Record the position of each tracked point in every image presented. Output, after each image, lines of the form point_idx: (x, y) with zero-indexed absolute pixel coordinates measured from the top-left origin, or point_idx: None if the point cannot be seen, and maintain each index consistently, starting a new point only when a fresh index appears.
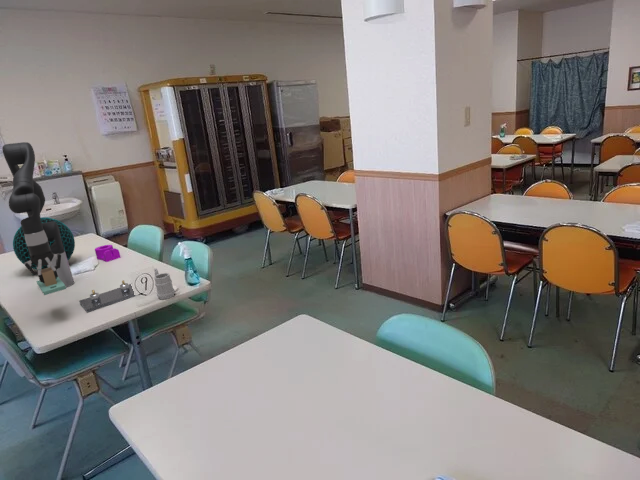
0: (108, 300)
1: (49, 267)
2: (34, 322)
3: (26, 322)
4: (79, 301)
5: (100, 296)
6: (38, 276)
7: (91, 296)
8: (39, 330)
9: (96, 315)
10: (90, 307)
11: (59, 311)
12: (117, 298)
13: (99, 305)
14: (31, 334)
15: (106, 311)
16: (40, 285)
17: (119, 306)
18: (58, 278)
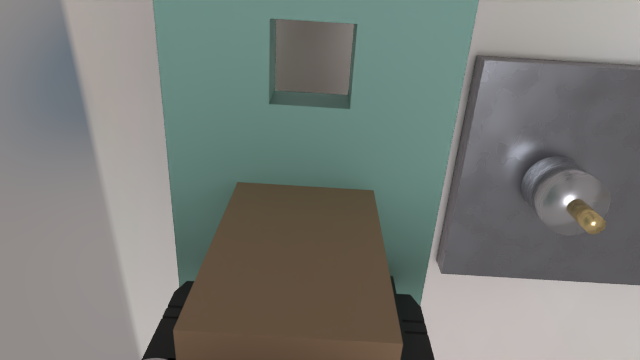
0: (591, 259)
1: (380, 353)
2: (155, 108)
3: (106, 51)
4: (482, 66)
5: (615, 132)
6: (150, 354)
7: (543, 221)
8: (174, 260)
9: (448, 335)
10: (469, 265)
11: (324, 64)
12: (637, 278)
13: (517, 276)
14: (134, 273)
15: (504, 333)
16: (187, 235)
17: (579, 332)
18: (433, 177)
